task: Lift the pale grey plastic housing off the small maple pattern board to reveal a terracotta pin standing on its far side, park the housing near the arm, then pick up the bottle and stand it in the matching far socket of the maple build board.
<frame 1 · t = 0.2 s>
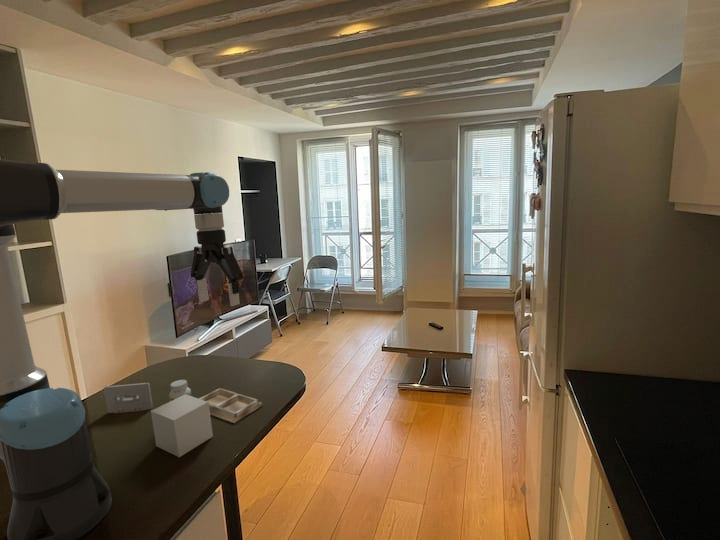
hand: (219, 302, 115), 27 cm above the breakfast bar, fingers open, 13 cm apart
cassette: (130, 411, 112), on the breakfast bar
supplement bottle: (183, 416, 107), on the breakfast bar
pattern board: (185, 441, 95), on the breakfast bar
housing: (185, 441, 95), on the breakfast bar
build board: (227, 406, 110), on the breakfast bar
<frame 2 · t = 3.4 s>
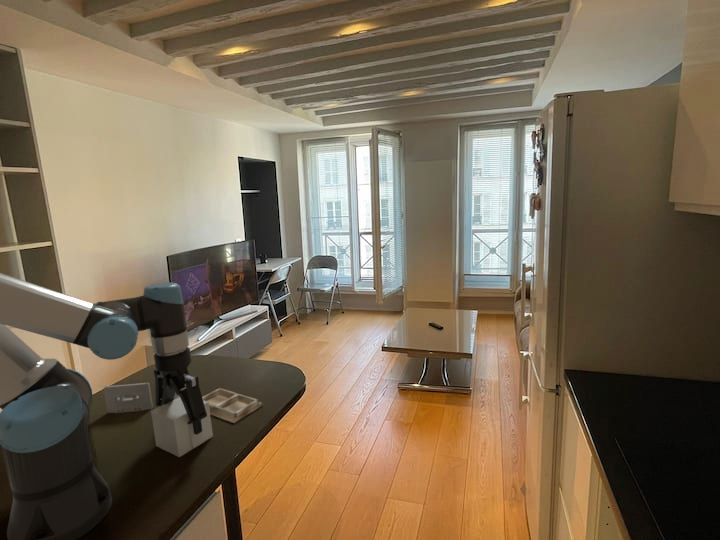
hand: (184, 439, 95), 0 cm above the breakfast bar, fingers closed on housing, 9 cm apart
housing: (185, 441, 95), on the breakfast bar, touching gripper
everything else where it was.
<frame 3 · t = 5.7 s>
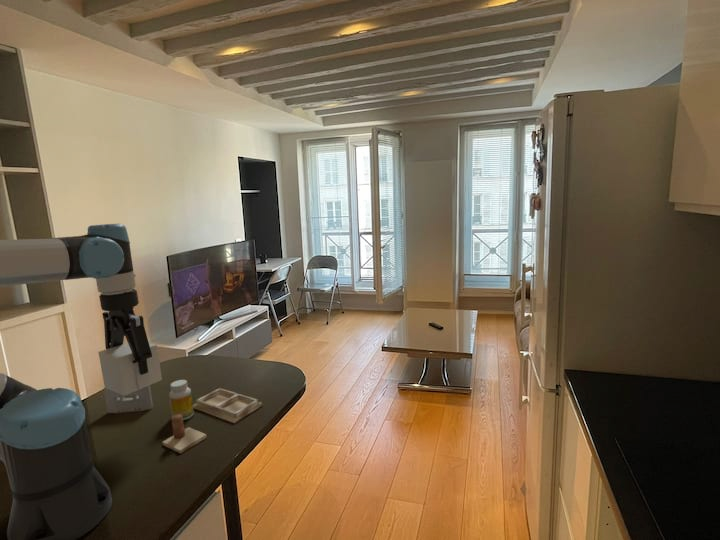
hand: (133, 381, 96), 14 cm above the breakfast bar, fingers closed on housing, 9 cm apart
housing: (133, 383, 96), point 14 cm above the breakfast bar, touching gripper
everything else where it was.
when the fingers open (2 cm above the breakfast bar, at t = 8.0 s): housing drops 1 cm, on the breakfast bar.
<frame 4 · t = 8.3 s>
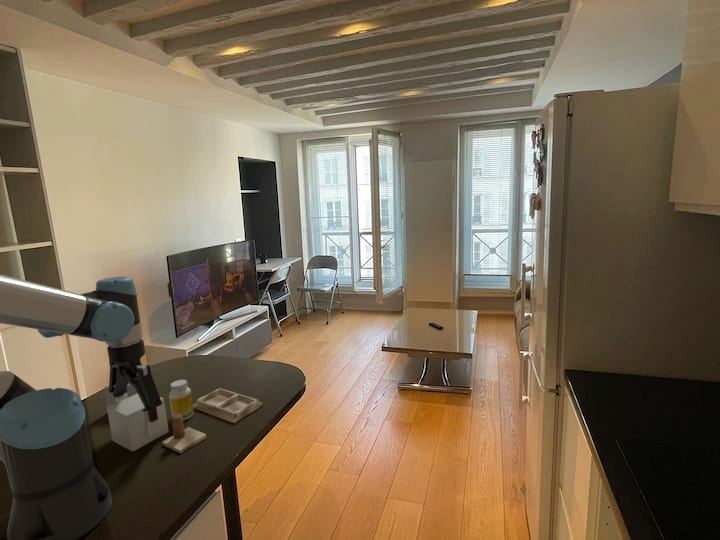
hand: (139, 426, 98), 3 cm above the breakfast bar, fingers open, 12 cm apart
housing: (141, 436, 98), on the breakfast bar
everything else where it was.
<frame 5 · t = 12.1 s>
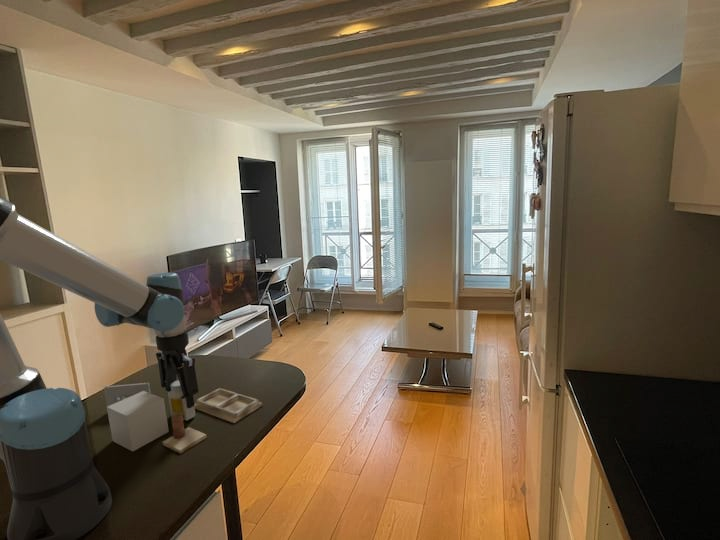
hand: (183, 415, 107), 0 cm above the breakfast bar, fingers closed on supplement bottle, 5 cm apart
supplement bottle: (183, 416, 107), on the breakfast bar, touching gripper
everything else where it was.
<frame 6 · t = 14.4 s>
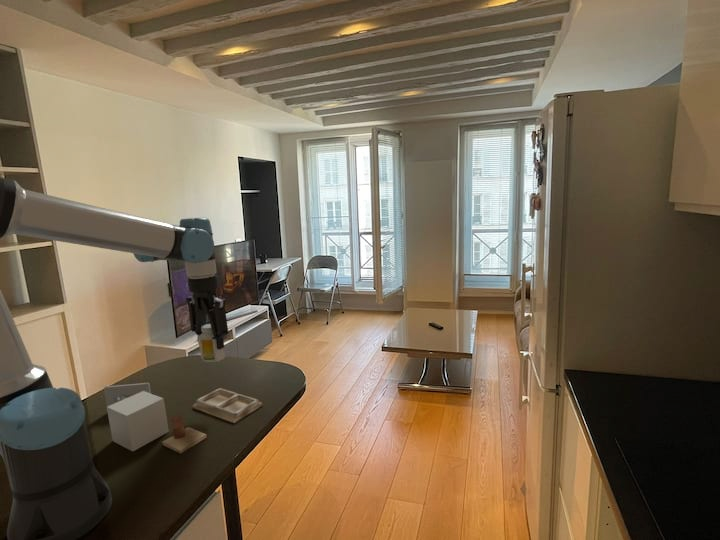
hand: (212, 357, 110), 14 cm above the breakfast bar, fingers closed on supplement bottle, 5 cm apart
supplement bottle: (213, 359, 110), point 13 cm above the breakfast bar, touching gripper
everything else where it was.
when the fingers open (2 cm above the breakfast bar, at t = 16.6 s): supplement bottle drops 1 cm, resting on build board.
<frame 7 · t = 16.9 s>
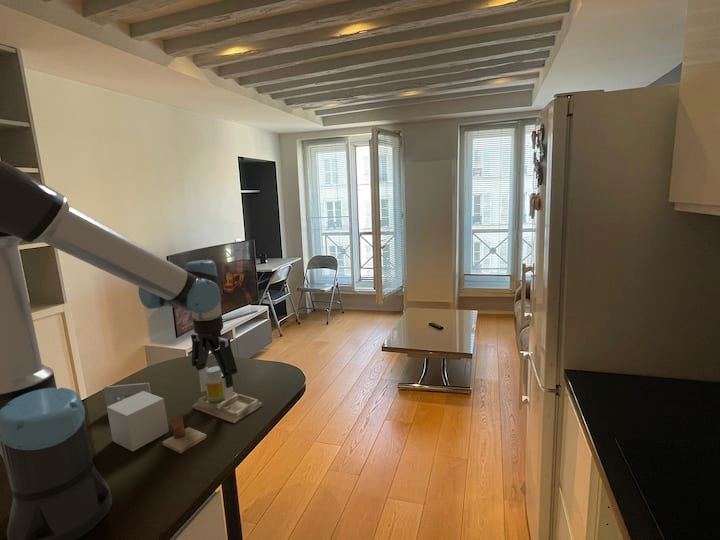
hand: (217, 393, 112), 3 cm above the breakfast bar, fingers open, 9 cm apart
supplement bottle: (218, 401, 112), point 1 cm above the breakfast bar, touching build board
everything else where it was.
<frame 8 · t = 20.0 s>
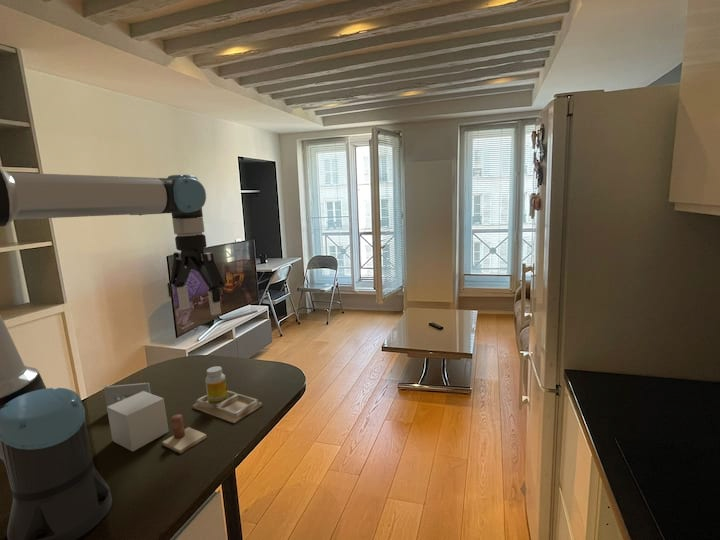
hand: (200, 311, 110), 27 cm above the breakfast bar, fingers open, 13 cm apart
nothing on the breakfast bar moved.
at the end: supplement bottle inside the target area (0.1 cm from its centre), point 0.6 cm above the breakfast bar; supplement bottle tilted 0°; housing moved 12.7 cm from its start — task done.
